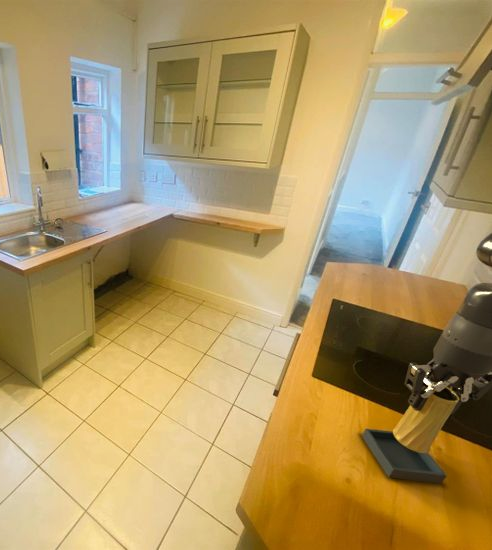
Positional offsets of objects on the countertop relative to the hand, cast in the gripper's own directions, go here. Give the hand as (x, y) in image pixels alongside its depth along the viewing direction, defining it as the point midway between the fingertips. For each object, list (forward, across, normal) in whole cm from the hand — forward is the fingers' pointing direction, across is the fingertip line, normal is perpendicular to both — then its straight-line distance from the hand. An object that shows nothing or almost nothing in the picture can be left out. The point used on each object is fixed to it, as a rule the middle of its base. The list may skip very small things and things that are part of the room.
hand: (430, 408), depth 61 cm
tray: (+16, 0, 0) cm, 16 cm away
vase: (+10, 0, 0) cm, 10 cm away
